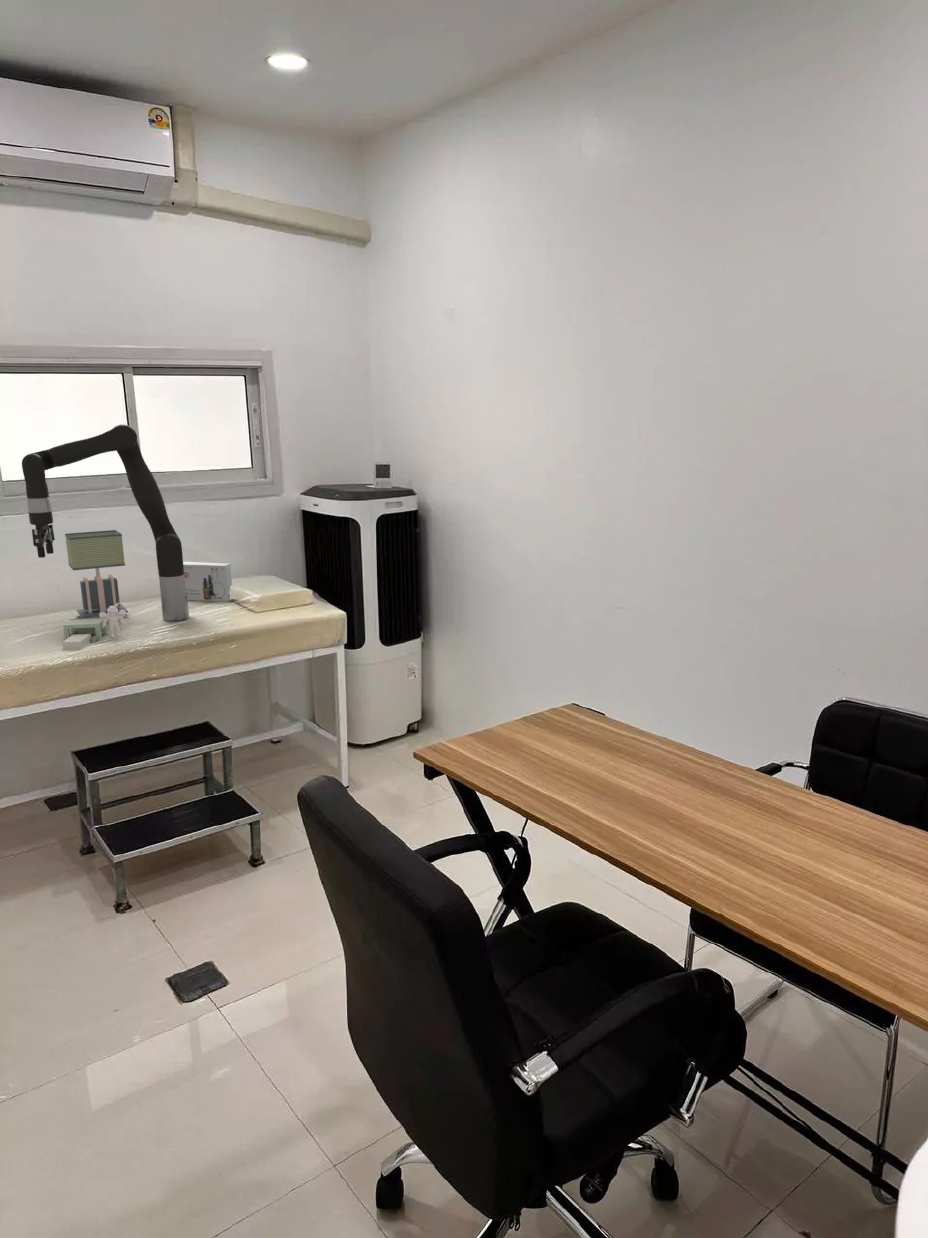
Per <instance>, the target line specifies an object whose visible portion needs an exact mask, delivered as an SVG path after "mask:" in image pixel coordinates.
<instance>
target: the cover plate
mask: <svg viewBox="0 0 928 1238" xmlns="http://www.w3.org/2000/svg"><path fill="white" fill-rule="evenodd" d="M91 638H92V634H73V635H72V636H70V637H69V638H67V639H66V640H65V641H64V640H63V641H62V642H61V643H62V649H66V650H83V649H84V648H85V647H86V646H87V645H89V644H90V643H92V639H91Z"/></svg>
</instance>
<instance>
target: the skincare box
mask: <svg viewBox="0 0 928 1238" xmlns="http://www.w3.org/2000/svg"><path fill="white" fill-rule="evenodd" d="M183 566H184V579H185V590H186V592H187V599H190V600H189V601H200V600H201V601H202V602H205V601H206V602H222V603H223V602H225V603H228V602H230V601H229V600H230V594H229V591H230V587H231V585H232V586H233V580H232V571H231V569H232V568H231V563H228V562H225V563H223V562H202V561H201V562H197V561H183ZM201 601H200V602H201Z"/></svg>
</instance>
